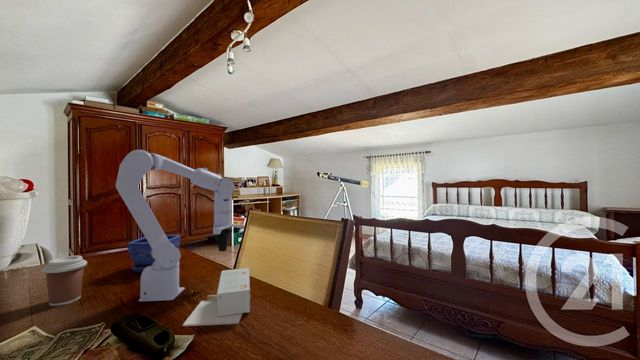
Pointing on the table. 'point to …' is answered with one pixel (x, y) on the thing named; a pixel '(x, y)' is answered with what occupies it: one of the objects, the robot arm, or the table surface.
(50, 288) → the coffee cup
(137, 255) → the flower pot
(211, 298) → the oak strip
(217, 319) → the mat
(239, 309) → the small box
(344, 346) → the table surface
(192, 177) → the robot arm
